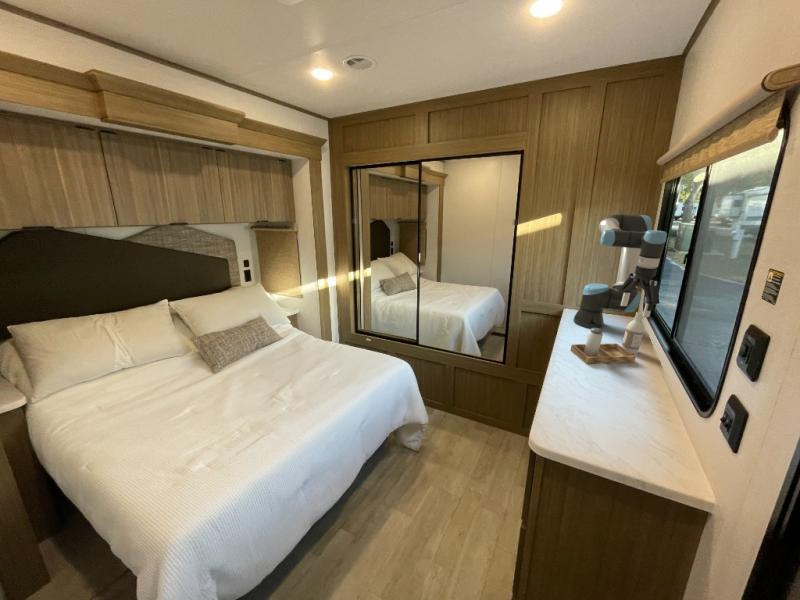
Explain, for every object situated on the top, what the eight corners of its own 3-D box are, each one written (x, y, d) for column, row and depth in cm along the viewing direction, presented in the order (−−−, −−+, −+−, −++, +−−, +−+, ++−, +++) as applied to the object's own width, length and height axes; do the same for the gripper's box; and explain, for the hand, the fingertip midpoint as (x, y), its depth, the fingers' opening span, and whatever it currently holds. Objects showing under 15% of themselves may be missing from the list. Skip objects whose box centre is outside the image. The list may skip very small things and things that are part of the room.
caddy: (614, 349, 160) (616, 343, 158) (634, 362, 148) (635, 356, 147) (570, 350, 158) (571, 344, 157) (586, 364, 146) (587, 357, 145)
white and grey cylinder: (587, 351, 156) (593, 326, 151) (599, 356, 151) (606, 330, 147) (581, 354, 153) (587, 328, 148) (593, 359, 148) (599, 333, 144)
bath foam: (619, 346, 163) (629, 309, 156) (636, 349, 160) (647, 311, 153) (621, 352, 157) (632, 314, 150) (638, 355, 154) (650, 317, 147)
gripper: (618, 259, 154) (608, 301, 162) (662, 274, 131) (647, 322, 138) (633, 259, 155) (622, 301, 162) (679, 274, 132) (664, 321, 139)
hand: (634, 311), depth 150 cm, fingers open, 13 cm apart
